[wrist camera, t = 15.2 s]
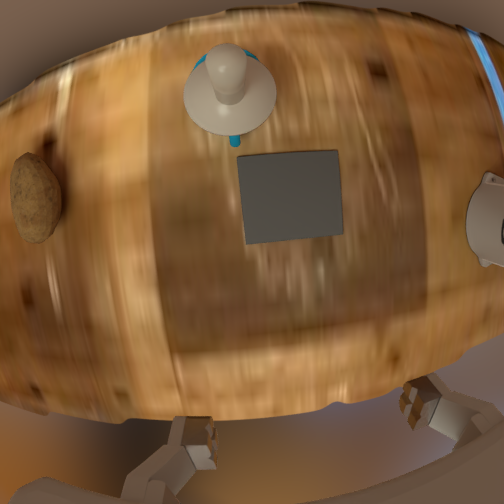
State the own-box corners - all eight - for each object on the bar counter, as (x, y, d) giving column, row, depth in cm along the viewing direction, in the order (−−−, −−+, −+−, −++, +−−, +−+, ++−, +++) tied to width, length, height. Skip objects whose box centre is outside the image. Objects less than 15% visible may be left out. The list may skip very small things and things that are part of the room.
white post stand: (269, 52, 26) (281, 9, 17) (281, 131, 29) (298, 111, 19) (181, 62, 26) (161, 23, 17) (188, 142, 29) (166, 127, 19)
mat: (336, 151, 37) (337, 150, 37) (342, 233, 40) (342, 234, 40) (236, 157, 37) (236, 157, 36) (246, 244, 40) (246, 244, 40)
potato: (63, 143, 35) (33, 140, 27) (79, 229, 38) (51, 240, 30) (24, 164, 35) (-6, 165, 27) (39, 242, 38) (10, 254, 31)
